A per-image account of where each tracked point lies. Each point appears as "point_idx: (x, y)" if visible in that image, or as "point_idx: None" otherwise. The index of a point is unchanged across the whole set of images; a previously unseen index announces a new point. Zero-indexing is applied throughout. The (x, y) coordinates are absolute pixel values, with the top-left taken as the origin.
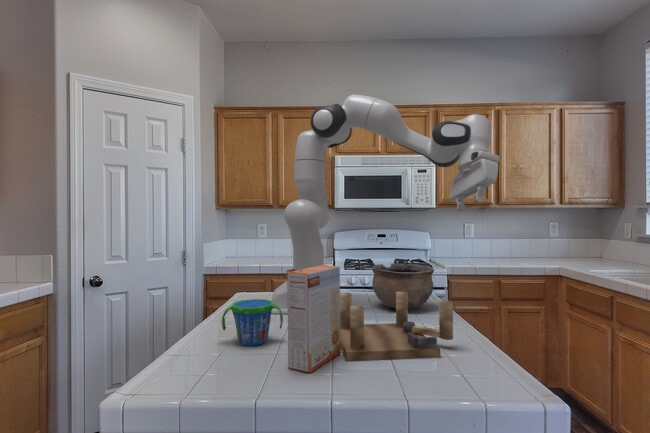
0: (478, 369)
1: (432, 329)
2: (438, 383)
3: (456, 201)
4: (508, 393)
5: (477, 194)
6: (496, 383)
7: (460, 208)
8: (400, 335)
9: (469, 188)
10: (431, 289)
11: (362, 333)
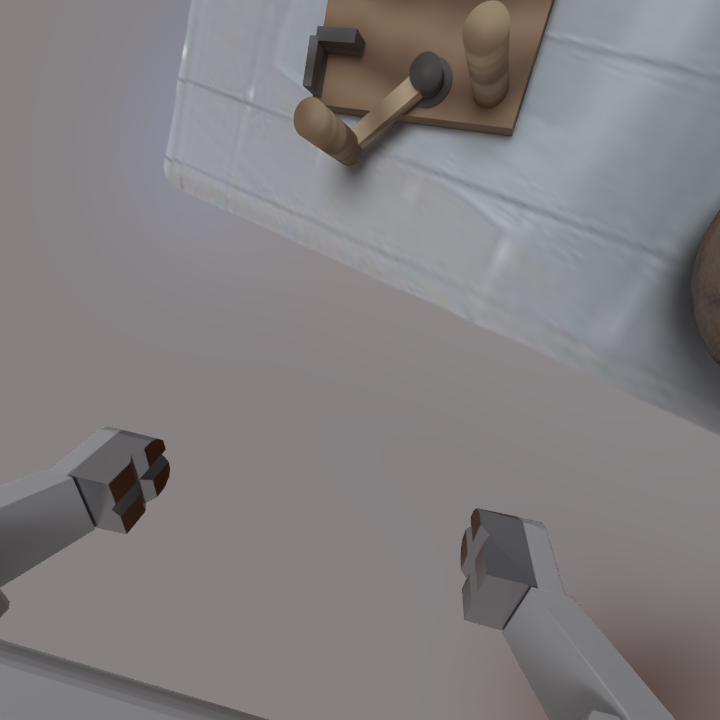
0: (260, 149)
1: (372, 122)
2: (234, 41)
3: (637, 686)
4: (193, 134)
5: (43, 472)
6: (217, 140)
7: (474, 517)
8: (416, 44)
9: (66, 664)
10: (712, 354)
11: None
